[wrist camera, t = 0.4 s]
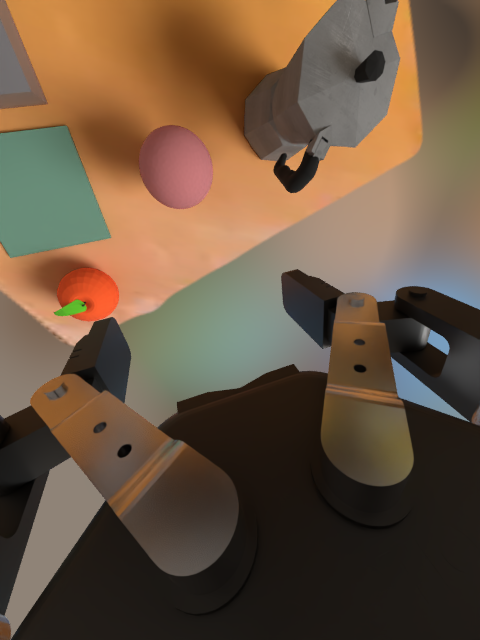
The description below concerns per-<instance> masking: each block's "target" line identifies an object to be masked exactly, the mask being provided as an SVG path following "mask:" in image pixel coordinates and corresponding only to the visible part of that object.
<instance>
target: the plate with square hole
mask: <svg viewBox="0 0 480 640" xmlns="http://www.w3.org/2000/svg"><path fill="white" fill-rule="evenodd" d="M43 104H48V103H47V101H46V98H45V96H44V93H43V91H42V89H41V86H40V84H39V81H38V79H37V76H36V74H35V72H34V69H33V67H32V64H31V62H30V59H29V57H28V55H27V52H26V50H25V47H24V45H23V42H22V40H21V38H20V35H19V33H18V30H17V28H16V26H15V23H14V21H13V18H12V16H11V13H10V11H9V9H8V6H7V4H6V1H5V0H0V109H5V108H15V107H24V106H34V105H43Z"/></svg>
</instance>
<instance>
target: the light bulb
mask: <svg viewBox="0 0 480 640" xmlns="http://www.w3.org/2000/svg"><path fill="white" fill-rule="evenodd" d="M139 169H140V174H141V177H142V180H143V182H144V184H145V186H146V188H147V190H148V191H149V192H150V194H151V195H152V196H153V197H154V198H155V199H156V200H157V201H159V202H160V203H162V204H164V205H166V206H168V207H171V208H175V209H186V208H190V207H193V206H195V205H197V204H198V203H200V202H201V201H202V200H203V199H204V198H205V196H206V195H207V193H208V191H209V189H210V187H211V184H212V178H213V167H212V161H211V158H210V155H209V152H208V150H207V148H206V147H205V145H204V144H203V142H202V141H201V140H200V139H199V138H198V137H197V136H196V135H195V134H194V133H193V132H191V131H190V130H188V129H186V128H183V127H180V126H175V125H167V126H162V127H160V128H157V129H155V130H154V131H153V132H151V133H150V134H149V135H148V136H147V138H146V139H145V141H144V143H143V145H142V147H141V150H140V155H139Z"/></svg>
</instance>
